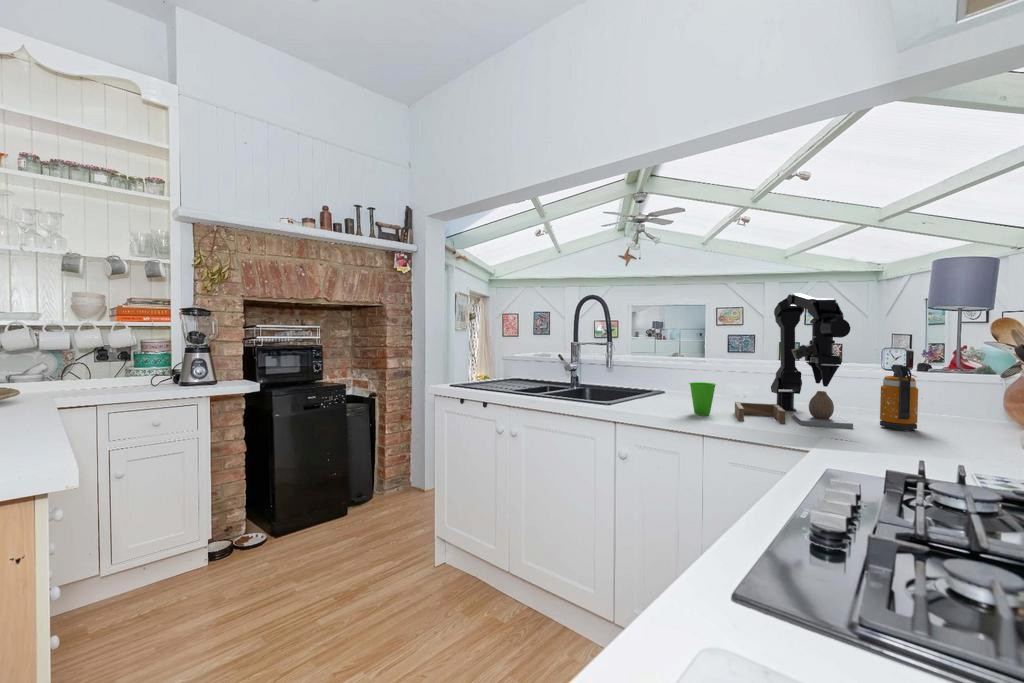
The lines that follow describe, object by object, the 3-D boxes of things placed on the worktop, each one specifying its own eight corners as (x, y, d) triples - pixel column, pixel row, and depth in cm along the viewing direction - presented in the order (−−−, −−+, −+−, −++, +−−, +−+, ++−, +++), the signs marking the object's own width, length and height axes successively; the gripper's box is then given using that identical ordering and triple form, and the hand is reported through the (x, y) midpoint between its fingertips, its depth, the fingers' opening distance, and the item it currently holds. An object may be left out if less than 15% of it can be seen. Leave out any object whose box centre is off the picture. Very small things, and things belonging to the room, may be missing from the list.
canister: (911, 427, 148) (913, 363, 148) (924, 434, 138) (926, 366, 138) (876, 424, 152) (877, 362, 152) (886, 431, 142) (888, 364, 141)
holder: (734, 412, 172) (734, 402, 172) (777, 415, 167) (777, 404, 167) (738, 420, 158) (739, 408, 158) (785, 423, 153) (785, 411, 153)
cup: (711, 412, 173) (711, 382, 173) (719, 416, 164) (719, 385, 164) (685, 411, 174) (686, 381, 174) (692, 416, 165) (693, 384, 165)
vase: (830, 416, 157) (830, 390, 157) (836, 420, 150) (837, 393, 150) (806, 415, 159) (806, 389, 159) (811, 419, 153) (812, 392, 152)
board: (791, 417, 164) (791, 413, 164) (839, 420, 159) (839, 415, 159) (800, 425, 151) (800, 420, 151) (853, 428, 146) (853, 423, 146)
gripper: (788, 336, 166) (787, 381, 166) (800, 337, 148) (799, 387, 149) (825, 336, 162) (824, 382, 162) (842, 337, 144) (841, 388, 145)
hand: (821, 384), depth 155 cm, fingers open, 9 cm apart
